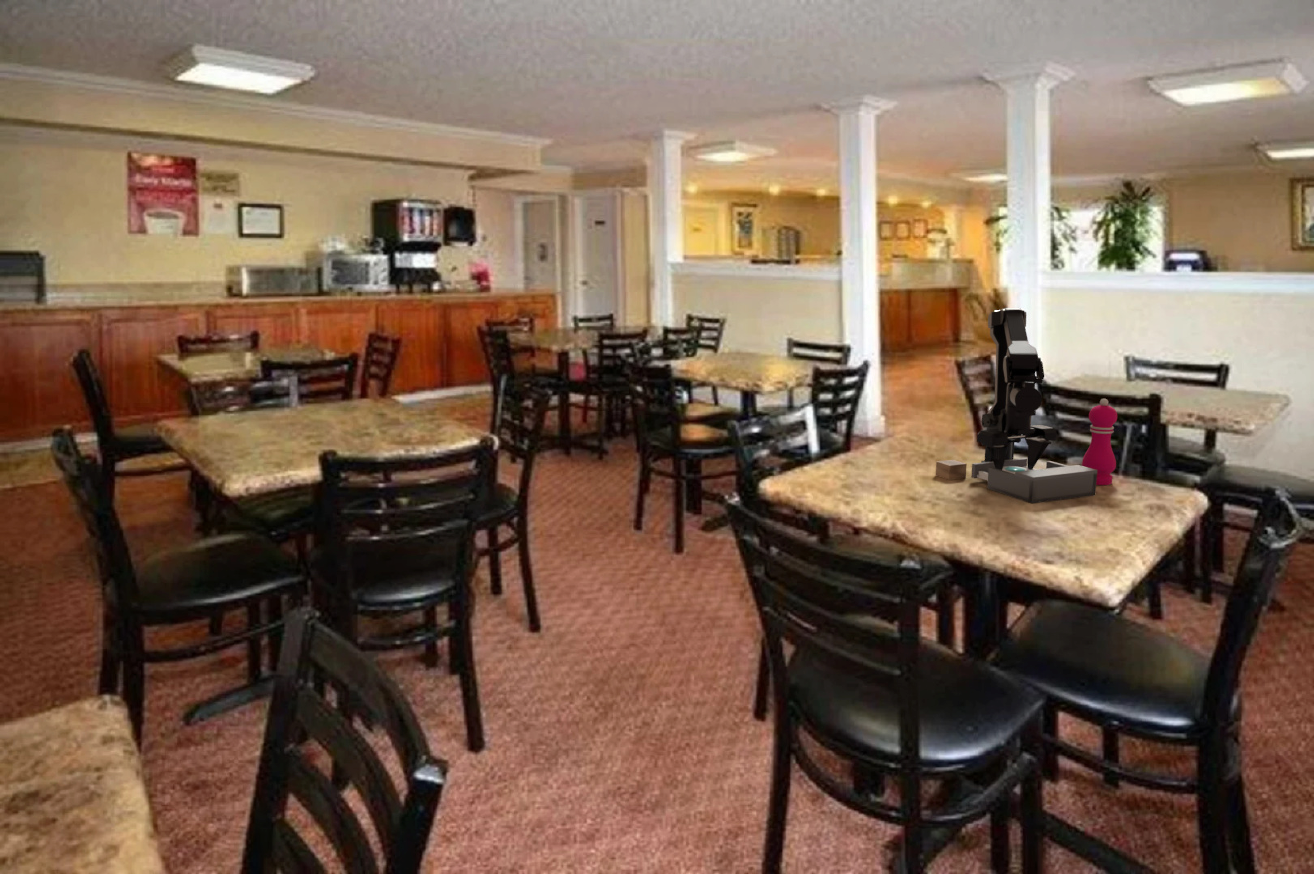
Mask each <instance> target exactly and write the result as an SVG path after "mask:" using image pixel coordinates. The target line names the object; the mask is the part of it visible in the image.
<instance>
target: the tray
mask: <svg viewBox="0 0 1314 874" xmlns="http://www.w3.org/2000/svg"><path fill="white" fill-rule="evenodd" d="M1027 461H1028V458H1025V457H1022V458H1020V457H1019V458H1013V459H1011V460H1005V461H1004V465H1003V467H1005V466H1016V467H1023V468H1027V469H1028V464H1027ZM990 467H993V468H995V465H994V462H993V461H992V462H982V463H981V462H976V463H975V462H974V463H971V478H972V479H981V480H984V481H987V482H988V470H989V468H990ZM1032 470H1038V468H1035V467H1034V468H1033V469H1032Z"/></svg>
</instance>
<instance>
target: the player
mask: <svg viewBox="0 0 1314 874" xmlns="http://www.w3.org/2000/svg"><path fill="white" fill-rule="evenodd" d="M1045 465H1046V467H1045V468H1041V469H1040V468H1039V469H1038V468H1037V469H1038V470H1029V471H1020V472H1015V474H1013V473H1010V472H1006V471H1003V470H1000V469H996V468H993V467H990V468H989V470H988V481H987V488H986V489H987V490H990V491H994V492H996V493H999V494H1002V495H1005V496H1008V497H1011V498H1014V499H1016V500H1020V501H1023V502H1026V503H1030V504H1038V503H1044V502H1045V503H1046V502H1053V501H1060V500H1069V499H1076V498H1085V497H1092V496H1096V493H1097V492H1096V490H1097V489H1096V488H1097V485H1096V481H1097V470H1096V469H1092V468H1088V467H1084V466H1082V465H1079V464H1075V465H1067V464H1062V463H1059V462H1056V461H1055V462H1054V461H1051V460H1047V461H1046V464H1045Z"/></svg>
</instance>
